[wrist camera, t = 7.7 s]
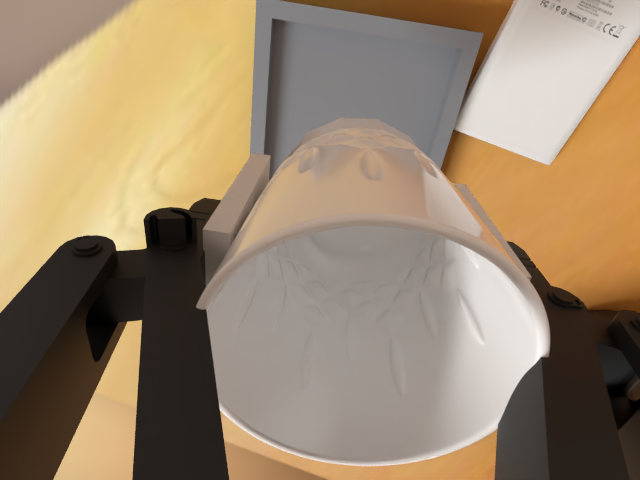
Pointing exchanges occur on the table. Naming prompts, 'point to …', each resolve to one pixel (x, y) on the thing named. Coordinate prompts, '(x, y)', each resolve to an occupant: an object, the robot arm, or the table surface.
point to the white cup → (368, 307)
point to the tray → (354, 76)
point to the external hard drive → (546, 72)
